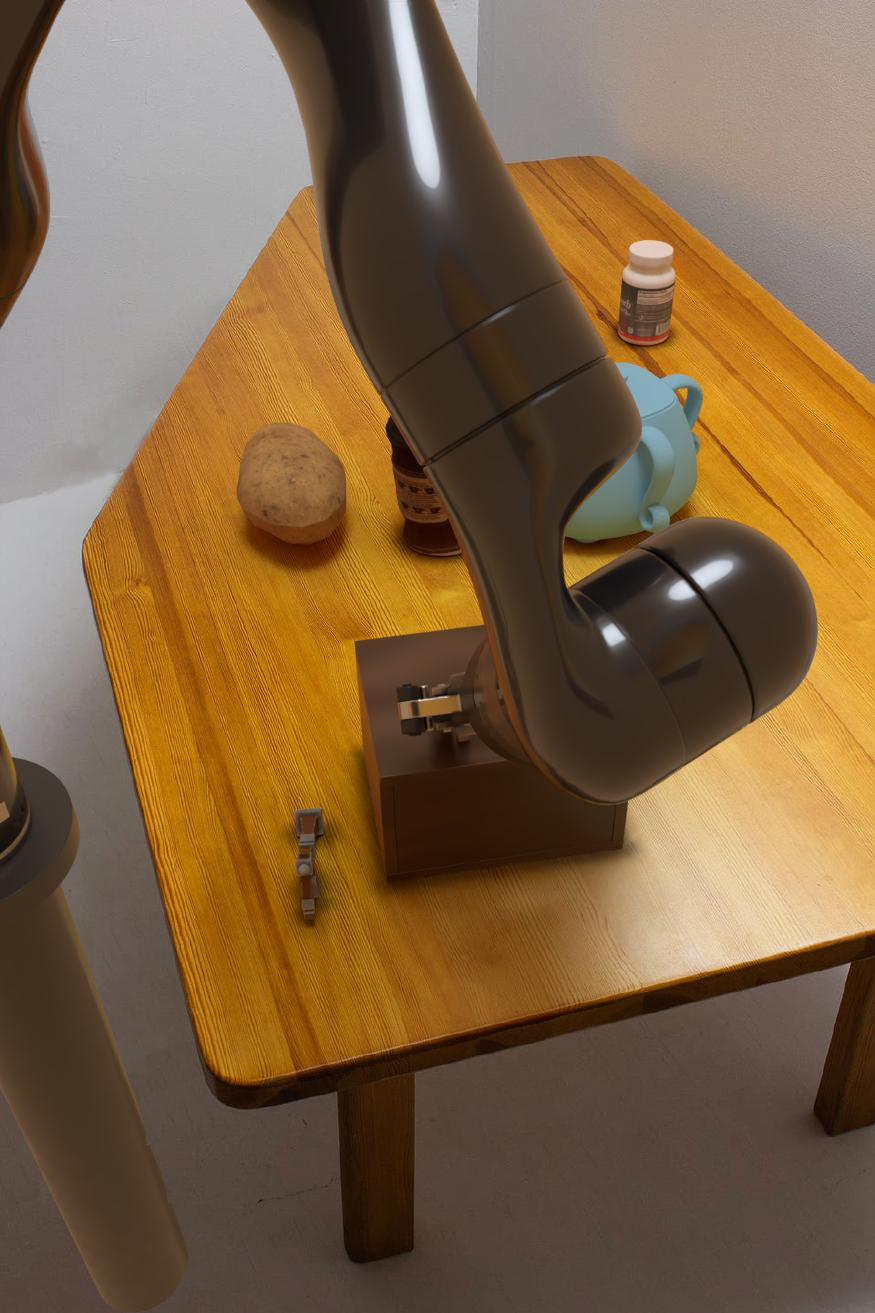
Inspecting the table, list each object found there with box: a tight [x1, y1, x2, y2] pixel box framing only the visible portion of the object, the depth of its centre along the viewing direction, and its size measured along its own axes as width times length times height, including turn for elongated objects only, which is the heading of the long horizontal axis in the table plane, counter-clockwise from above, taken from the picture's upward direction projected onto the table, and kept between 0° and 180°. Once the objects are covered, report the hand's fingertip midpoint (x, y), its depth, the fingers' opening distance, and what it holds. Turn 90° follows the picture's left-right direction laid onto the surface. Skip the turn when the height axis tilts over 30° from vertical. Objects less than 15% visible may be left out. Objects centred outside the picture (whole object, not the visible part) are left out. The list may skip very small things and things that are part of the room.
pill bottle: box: [617, 239, 676, 346], centre depth 132 cm, size 6×6×10 cm
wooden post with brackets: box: [294, 807, 325, 921], centre depth 77 cm, size 2×8×4 cm, turn 4°
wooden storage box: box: [354, 652, 629, 883], centre depth 79 cm, size 12×16×10 cm
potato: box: [236, 422, 347, 545], centre depth 105 cm, size 10×14×8 cm
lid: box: [353, 624, 527, 787], centre depth 74 cm, size 12×16×5 cm
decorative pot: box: [565, 361, 704, 544], centre depth 105 cm, size 16×16×14 cm
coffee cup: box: [384, 414, 462, 557], centre depth 102 cm, size 9×8×13 cm
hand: (498, 702), depth 73 cm, fingers closed on lid, 6 cm apart
